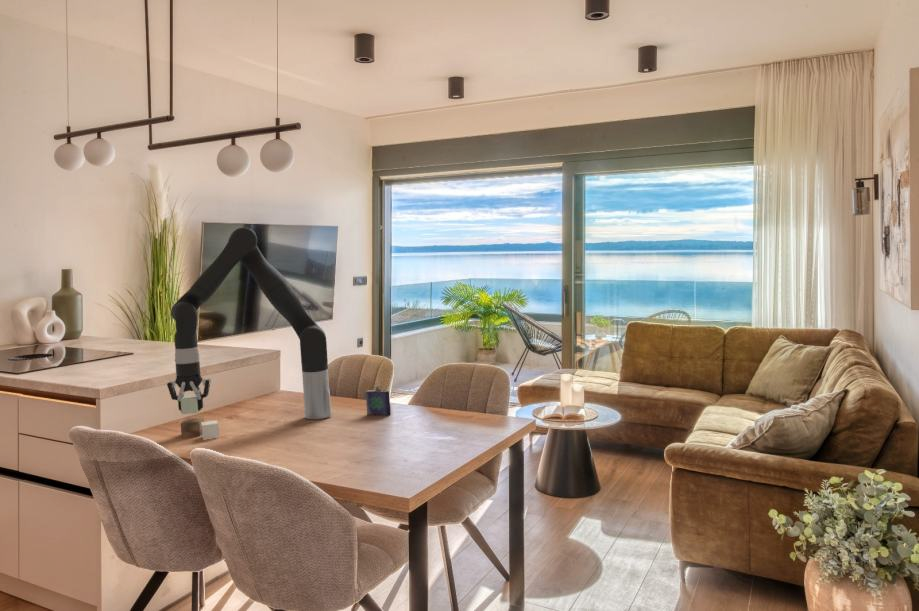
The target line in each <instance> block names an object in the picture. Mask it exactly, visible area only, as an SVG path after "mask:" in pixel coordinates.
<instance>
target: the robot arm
mask: <svg viewBox="0 0 919 611" xmlns="http://www.w3.org/2000/svg"><path fill="white" fill-rule="evenodd" d="M227 241H228V242H227V243H226V245H225V247H224V248H223V249H222V251H221V252H220V254H219V255H218V256H217V257H216V259H214V261H213V262H212V263H211V264H210V265H209V266H208V267H207V268H206V269H205V270H204V271H203V272H202V273H201V274H200V275H199V276H198V278H197V279H196V280H195V281H194V283H193V284H192V286H190V288H189V290H187V291H186V292H185V293H184V294H182V296H181V297H180V298H178V300H176V302H175V303H174V304H173V306H172V308H171V309H170V315H171V318H172V319H173V320H174V321H175V333H174V337H173V338H174V348H175V349H174V362H175V375H176V377H175V378H176V379H175V380H173V381H169V382H167V384H166V385H167V389H168V391H169V395H170V397H171V400H173V401H177V403H178V404H177V405H178V411H181V399H182V398H183V397H184V396H185V393H186V392H193V393H194V394H195V396H197V398H198V400H197V402H198V411H199V412H200V411H202V409H203V408H204V398H206V397H208V396H209V392H210V387H211V379H210V378H207V379H206V378H203V377H202V374H201V364H200V353H199V348H198V337H197V328H198V312H197V310H198V309H199V308H200V307H201V306H202V305H203V304H205V303H206V302H208V301H209V299H211V298H212V296H213V295H214V294H215V293H216V291H217V290H218V289H219V288H220V286H221V285H222V284H223V282H224V281H225V280H226V278H227V277H228V275H229V274H230V272H231V271H232V270H233V269H234V267H236V265H238V263H239V262H240V263H241V264H242V265H243V266H244V268H246V269H247V270H248V272H249V273H250V275H251V276H252V278H253V280H254V281H255V283H256V284H257V286H258V288H259V289H260V290H261V292H262V293H263V295H264V296H265V297H266V299H267V300H268V302H269V303H270V304H271V305H272V306H273V307H274V309H275V310H276V311H277V312H278V314H280V315H281V316H282V317H283V318H284V319H285V320H286V321H287V322H288V323H289V325H290V326H291V327H292V329H293V331H294V332H295V333H296V336H297V337H298V339H299V347H300V349H299V350H300V360H301V374H302V387H303V388H302V390H303V402H304V404H303V405H304V406H303V407H304V416H305V417H304V418H305V419H306V420H322V419H325V418H331V417H332V406H331V404H332V403H331V392H330V391H331V390H330V383H329V381H330V380H329V367H328V366H329V364H328V361H329V360H328V347H327V346H328V344H327V336H326V333H325V331H324V330H323V329H322V328H321V327H320V326H319V325H318V323H316V321H315V320H314V319H313V318H312V317H311V316H310V314H309V313H308V312H307V310H306V309H305V306H304V305H303V303H302V301H301V300H300V299H299V296H298V295H297V293H296V292H295V290H294V288H293V287H292V286H291V284H290V283H289V282H288V281H287V279H286V278H285V276H284V275H283V274H282V273H281V272H279V270H278V269H276V268H275V267H274V266H273V265H272V264H271V263H270V262H269V261H268V260H267V259H266V257H264V254H263V253H262V252H261V251H260V249H259V246H258V237H257V234H256V232H255V231H254V230H253V229H251V228H249V227H243V226H241V227H238V228H236V229H235V230H233V231H232V233H231V234H230V235H229V238H228V240H227ZM201 384H202V385H203V386H204V387H203V393H202V391H201V388H200V385H201ZM176 385H177V386H178V388H179V390H178V391H179V392H178V394H177V392H176Z"/></svg>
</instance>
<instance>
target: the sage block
mask: <svg viewBox="0 0 919 611" xmlns="http://www.w3.org/2000/svg"><path fill="white" fill-rule="evenodd" d="M197 400H198V398H197V396H196V395H189V396H187V395H186V396H185V395H184V396H183V398H182V399H181V410H180V413H181V415H186V414H187V415H189V414H198V413H199V412H200V411H198V402H197Z"/></svg>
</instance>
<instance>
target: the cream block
mask: <svg viewBox="0 0 919 611" xmlns="http://www.w3.org/2000/svg"><path fill="white" fill-rule="evenodd" d="M201 426H202V435H201V437H202V441H207V439H209V440H214V439H213V438H216V439H220V428H219V422H218V420H217V419H215V420H211V421H210V420H209V421H208V420H207V421H204V422H201Z"/></svg>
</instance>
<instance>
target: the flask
mask: <svg viewBox="0 0 919 611" xmlns="http://www.w3.org/2000/svg"><path fill="white" fill-rule="evenodd" d="M374 388H375V389H370V390H369V389H368V390H366V391H365V399H366V400H365V401H366V402H365V403H366V415H367V416H373V417H374V416H376V417H378V416H383V417H390V416H391V415H392V412H391V403H390V402H391V401H390V400H391V399H390V391H389V390H388V389H387V390H386V389H382V388H381V387H380V385H376V386H374Z"/></svg>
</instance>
